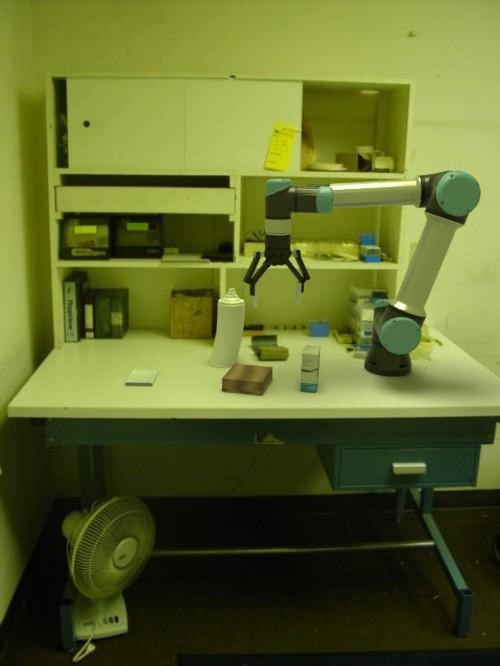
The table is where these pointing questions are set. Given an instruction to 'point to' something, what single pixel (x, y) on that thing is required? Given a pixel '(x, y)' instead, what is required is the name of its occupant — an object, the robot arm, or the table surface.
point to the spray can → (228, 330)
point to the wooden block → (247, 379)
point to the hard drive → (142, 377)
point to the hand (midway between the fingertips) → (276, 305)
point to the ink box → (310, 368)
